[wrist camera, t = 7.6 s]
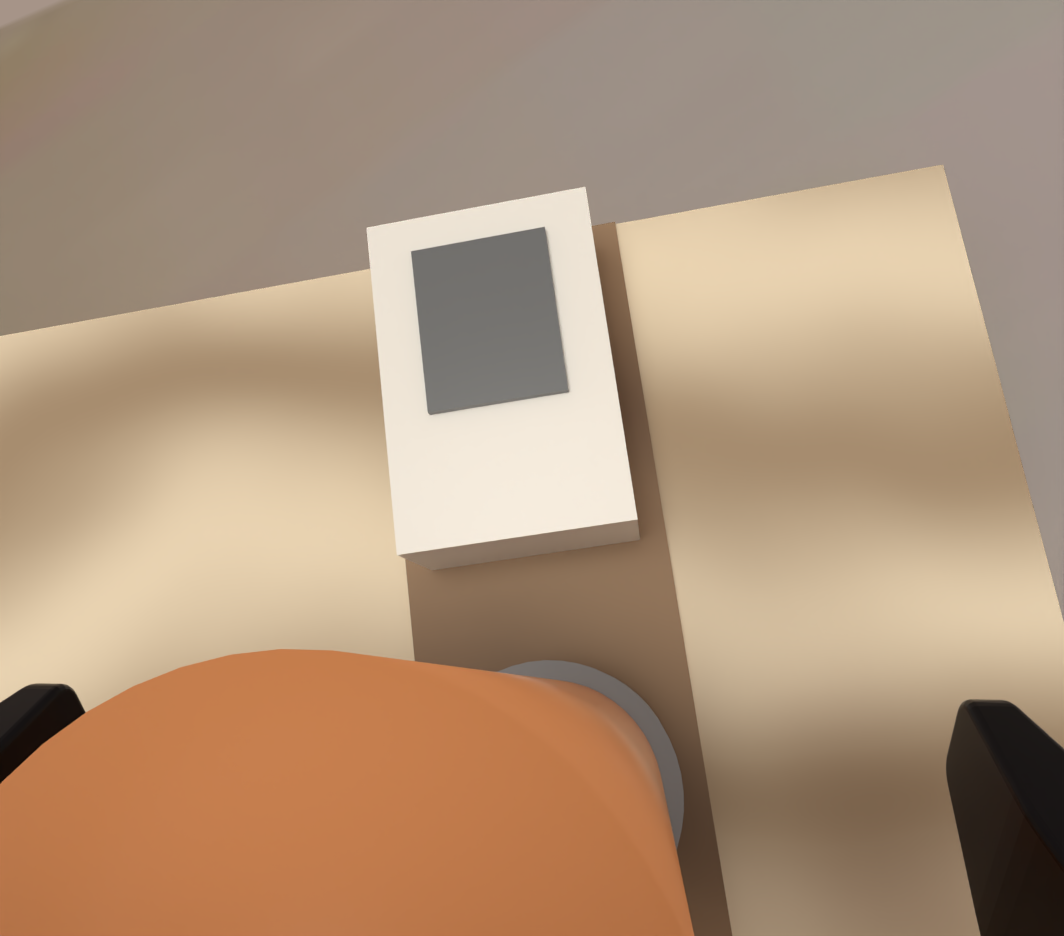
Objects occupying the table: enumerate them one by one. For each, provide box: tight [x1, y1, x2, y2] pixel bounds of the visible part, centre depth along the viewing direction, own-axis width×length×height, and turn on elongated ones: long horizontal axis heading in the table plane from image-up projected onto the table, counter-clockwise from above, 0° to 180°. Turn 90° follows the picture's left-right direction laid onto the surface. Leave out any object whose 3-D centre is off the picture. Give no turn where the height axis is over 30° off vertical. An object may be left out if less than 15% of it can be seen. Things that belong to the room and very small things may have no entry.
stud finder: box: [367, 187, 640, 570], centre depth 16 cm, size 6×4×3 cm, turn 8°
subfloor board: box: [0, 165, 1064, 936], centre depth 17 cm, size 21×24×2 cm
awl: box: [0, 649, 694, 936], centre depth 10 cm, size 4×4×13 cm
